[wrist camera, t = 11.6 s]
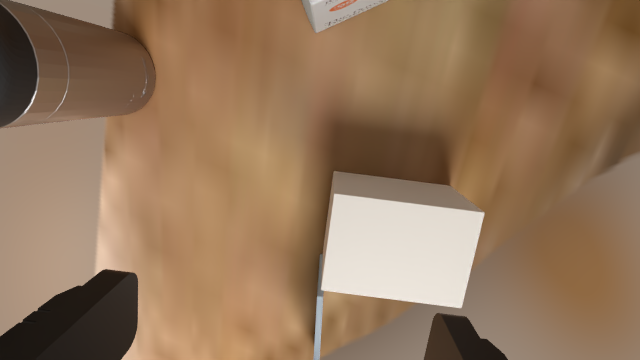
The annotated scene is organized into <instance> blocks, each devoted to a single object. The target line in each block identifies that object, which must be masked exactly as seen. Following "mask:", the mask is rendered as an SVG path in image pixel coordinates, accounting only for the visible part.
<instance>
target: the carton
mask: <svg viewBox="0 0 640 360" xmlns="http://www.w3.org/2000/svg"><path fill="white" fill-rule="evenodd" d="M483 217H484V212H483V211H482V210H481V209H479V208H478V207H477V206H475V205H474V204H473V203H472V202H470V201H469V200H468V199H467V198H465V197H464V196H463V195H461V194H460V193H459V192H458V191H456V190H455V189H454V188H453V187H451V186H448V185H441V184H433V183H425V182H417V181H409V180H401V179H393V178H386V177H378V176H370V175H362V174H354V173H346V172H338V171H334V172H333V179H332V187H331V194H330V201H329V209H328V216H327V223H326V231H325V238H324V246H323V260H322V280H321V290H323V291H331V292H339V293H347V294H355V295H362V296H370V297H378V298H386V299H394V300H402V301H410V302H417V303H426V304H433V305H441V306H449V307H457V308H461V307H462V304H463V299H464V296H465V291H466V287H467V283H468V279H469V275H470V271H471V267H472V263H473V258H474V254H475V250H476V246H477V242H478V238H479V234H480V230H481V225H482V221H483Z"/></svg>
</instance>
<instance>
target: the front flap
mask: <svg viewBox="0 0 640 360" xmlns="http://www.w3.org/2000/svg"><path fill="white" fill-rule="evenodd" d="M322 260H323V254H320V262H319V277H318V291H317V308H316V326H315V345H314V360H319V359H320V342H321V325H322V308H323V290H321V280H322Z"/></svg>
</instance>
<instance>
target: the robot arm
mask: <svg viewBox="0 0 640 360" xmlns="http://www.w3.org/2000/svg"><path fill="white" fill-rule="evenodd" d="M154 87H155V69H154V66H153V62H152V60H151V58H150V56H149V54H148V52H147V51H146V50H145V48H144V47H143V46H142V45H141V44H140V43H139V42H138V41H137V40H136V39H134V38H133V37H131V36H129V35H128V34H125V33H122V32H119V31H116V30H112V29H109V28H105V27H102V26H99V25H95V24H92V23H88V22H84V21H81V20H78V19H74V18H71V17H67V16H64V15H60V14H56V13H53V12H49V11H46V10H42V9H39V8H35V7H32V6H28V5H25V4H21V3H17V2H13V1H10V0H0V128H9V127H18V126H25V125H34V124H43V123H53V122H61V121H70V120H80V119H89V118H98V117H108V116H117V115H125V114H130V113H133V112H136V111H137V110H139V109H141V108H142V107H143V106H144V105H145V104H146V103H147V102H148V100H149V99H150V97H151V96H152V93H153V90H154ZM137 323H138V278H137V275H136V274H135V273H131V272H123V271H115V270H108V269H105V270H102V271H101V272H100V273H98V274H97V275H96V276H94V277H93V278H92V279H91V280H89V281H88V282H87V283H86V284H84V285H83V286H76V287H74V288H72V289H69V290H67V291H65V292H62V293H60V294H58V295H56V296H54V297H53V298H52V299H50V300H49V301H48V302H46V303H45V304H43V305H42V306H41V307H39V308H38V311H34V312H33V313H31V314H30V315H29V316H27V317H26V318H25V319H23V322H22V323H18V324H16V325H15V326H14V327H13V328H11V329H10V330H8V331H7V332H6V333H4V334H3V335H2V336H0V360H121V359H122V357H123V356H124V355H125V354H126V352H127V351H128V350H129V348H130V347H131V345H132V343H133V340H134V338H135V335H136V331H137ZM424 360H508V359H507V358H506V356H505V355H504V354H503V353H502V352H501V351H500V350H499V349H497V348H496V347H495V346H494V345H493V344H492V343H491V342H489V341H488V340H487V339H481V338H480V337H479V336H478V334H477V332H476V331H475V329H474V327H473V326H472V324H471V323H470V321H469V320H468V318H467V317H465V316H456V315H448V314H442V313H437V314H436V315H435V316H434V318H433V322H432V326H431V331H430V335H429V339H428V344H427V348H426V353H425V357H424Z"/></svg>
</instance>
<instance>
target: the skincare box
mask: <svg viewBox="0 0 640 360" xmlns="http://www.w3.org/2000/svg"><path fill="white" fill-rule="evenodd" d="M301 1H302V3H303V6H304V9H305V11H306V14H307V16H308V19H309V21H310V23H311V25H312V27H313V30H314V32H315V33H318V32H320V31H322V30H325V29H327V28H329V27H331V26H334V25H336V24H338V23H340V22H342V21H344V20H347V19H349V18H351V17H353V16H355V15H358V14H360V13H362V12H364V11H366V10H369V9H371V8H373V7H375V6H377V5H379V4H382V3H384V2H386V1H388V0H301Z"/></svg>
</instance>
